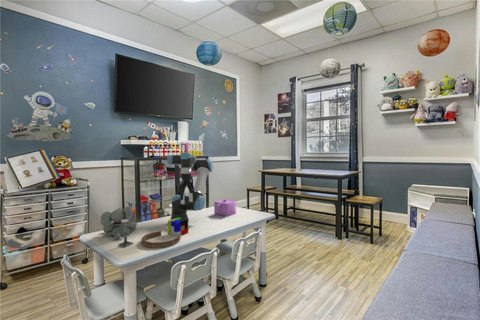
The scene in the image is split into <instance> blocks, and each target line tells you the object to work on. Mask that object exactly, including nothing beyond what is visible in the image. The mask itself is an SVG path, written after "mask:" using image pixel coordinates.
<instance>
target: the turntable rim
mask: <svg viewBox="0 0 480 320" xmlns="http://www.w3.org/2000/svg"><path fill="white" fill-rule="evenodd" d="M160 236H162V230H159V231H153V232H152V231H151V232H149V233H146V234H144V235H143V236H142V237H141V245H142V246H143V247H144V248H145V247H146V248H151V249H154V248H158V249H159V248H166V247H170V246H174V245H176V244H177V243H179V242H180V240H181V236H180V234H178V236H177V237H176V236H175V237H174V238H172V239H170V240H169V239H168V240H165V241H156V242H154V241H153V242H152V241H147V240H149V239H152V238H154V237H160Z"/></svg>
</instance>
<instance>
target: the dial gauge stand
mask: <svg viewBox="0 0 480 320" xmlns="http://www.w3.org/2000/svg"><path fill="white" fill-rule="evenodd" d="M126 222H130V219H123V220H121V223H124V236H123V242H121V243H118V247H121V246H122V247H121V248H127V246H128V247H130V246H132V245H133V244H134V243H133V242H132V241H128V235H127V227H126V226H134V225H136V226H137V225H138V223H137V222H132V223H130V224H126ZM131 244H132V245H131ZM129 245H130V246H129Z"/></svg>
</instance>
